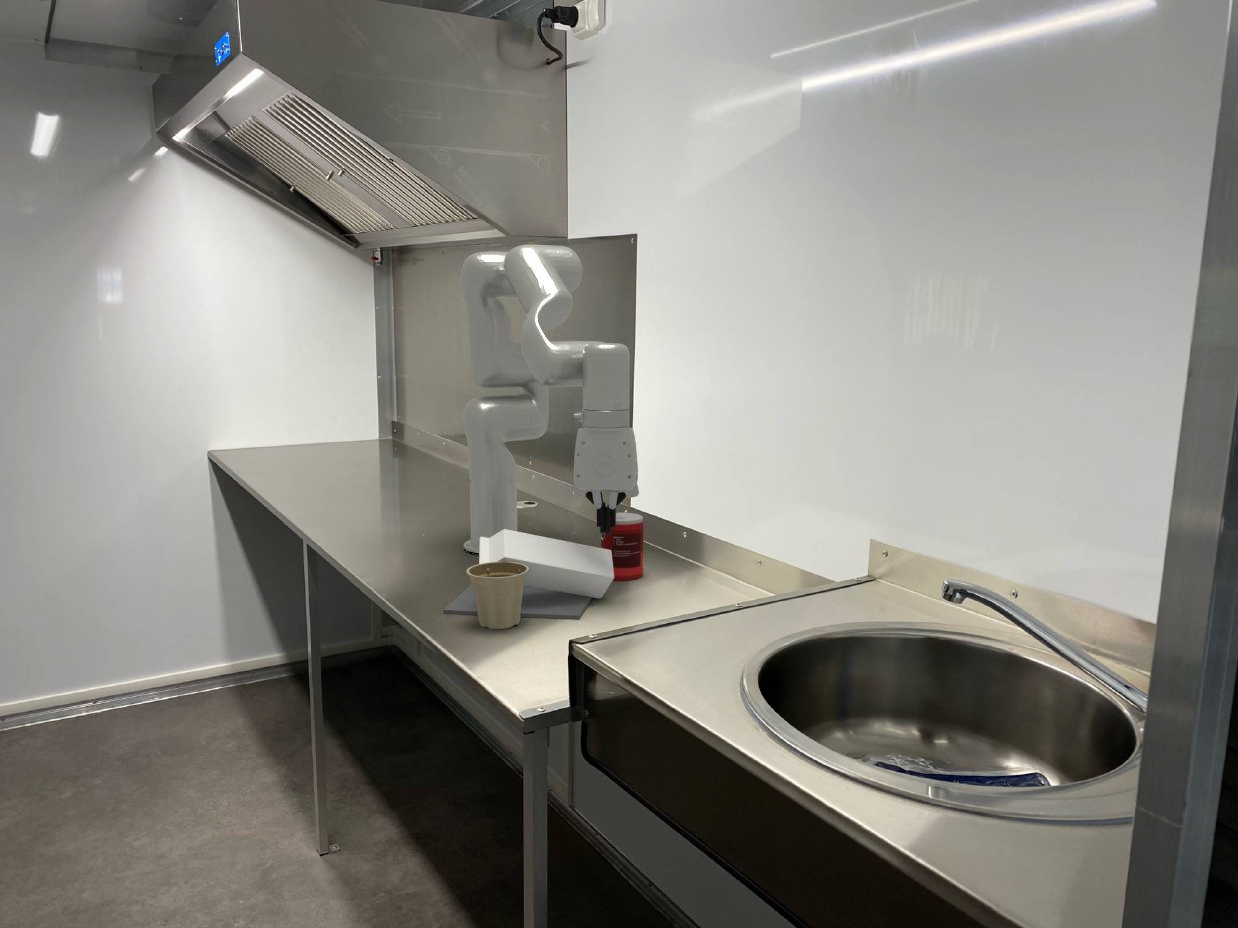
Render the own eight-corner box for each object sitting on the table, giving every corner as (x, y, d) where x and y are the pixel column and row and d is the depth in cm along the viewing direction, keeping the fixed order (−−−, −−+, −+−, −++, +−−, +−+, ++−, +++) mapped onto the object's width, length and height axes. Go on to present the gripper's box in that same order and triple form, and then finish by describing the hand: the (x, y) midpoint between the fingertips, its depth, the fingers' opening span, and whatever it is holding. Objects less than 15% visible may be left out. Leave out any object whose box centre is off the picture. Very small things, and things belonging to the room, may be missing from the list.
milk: (601, 599, 155) (473, 577, 148) (598, 570, 159) (474, 548, 152) (615, 577, 151) (484, 553, 144) (611, 548, 156) (484, 524, 148)
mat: (479, 580, 167) (479, 576, 167) (600, 584, 164) (600, 581, 164) (443, 613, 147) (443, 609, 147) (579, 619, 144) (579, 615, 144)
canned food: (618, 567, 176) (618, 510, 174) (652, 574, 171) (652, 516, 169) (592, 575, 170) (591, 517, 168) (626, 583, 165) (626, 522, 163)
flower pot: (486, 637, 136) (484, 580, 135) (457, 621, 143) (455, 567, 142) (541, 625, 141) (540, 570, 140) (510, 610, 149) (509, 558, 148)
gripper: (556, 421, 147) (557, 535, 149) (649, 423, 145) (649, 537, 147) (565, 417, 154) (566, 525, 157) (654, 418, 152) (653, 527, 155)
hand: (606, 531), depth 152 cm, fingers closed
